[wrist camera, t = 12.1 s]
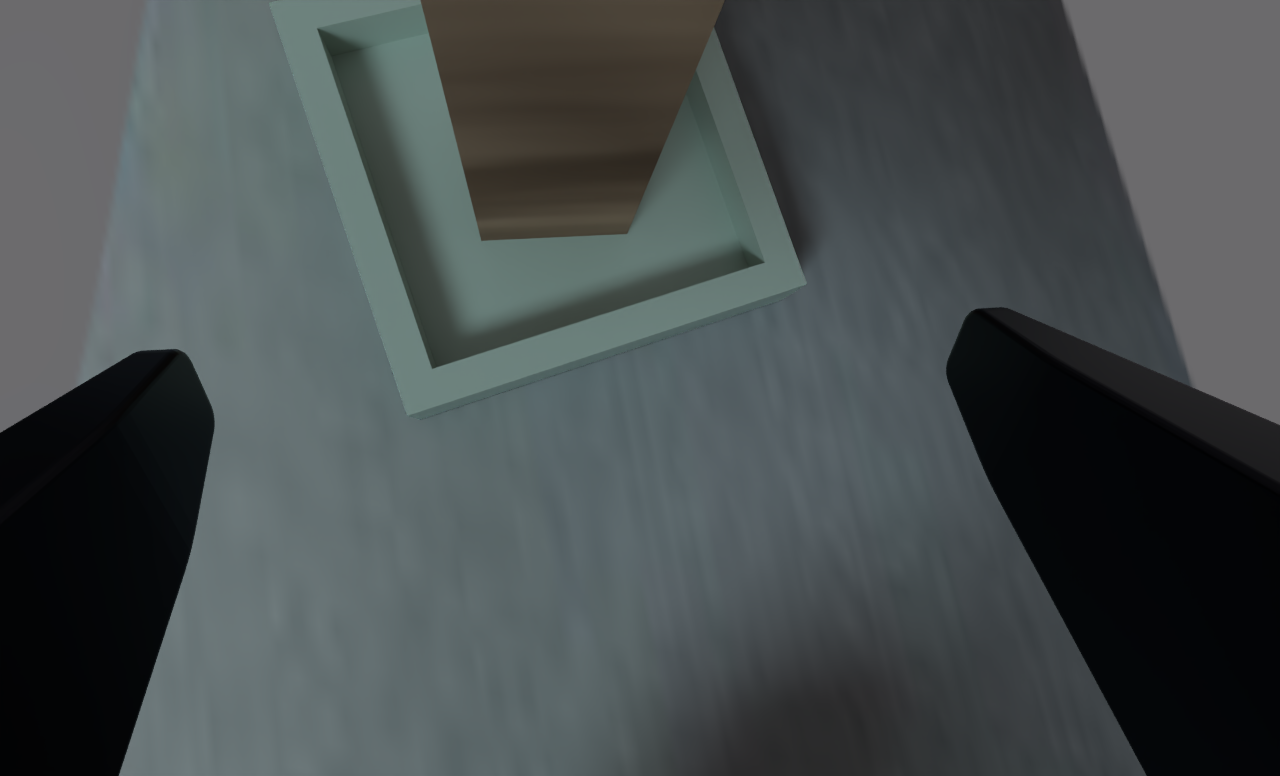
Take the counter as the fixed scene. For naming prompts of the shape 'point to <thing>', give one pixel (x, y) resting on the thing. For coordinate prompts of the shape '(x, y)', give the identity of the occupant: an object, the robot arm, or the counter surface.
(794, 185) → the counter surface
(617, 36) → the tan wooden block
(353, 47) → the tray
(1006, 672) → the counter surface
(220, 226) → the counter surface
